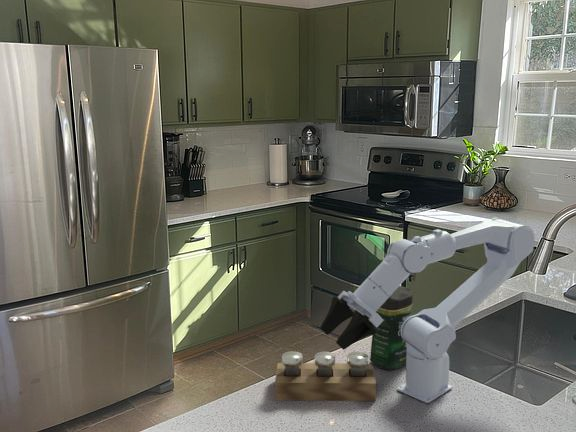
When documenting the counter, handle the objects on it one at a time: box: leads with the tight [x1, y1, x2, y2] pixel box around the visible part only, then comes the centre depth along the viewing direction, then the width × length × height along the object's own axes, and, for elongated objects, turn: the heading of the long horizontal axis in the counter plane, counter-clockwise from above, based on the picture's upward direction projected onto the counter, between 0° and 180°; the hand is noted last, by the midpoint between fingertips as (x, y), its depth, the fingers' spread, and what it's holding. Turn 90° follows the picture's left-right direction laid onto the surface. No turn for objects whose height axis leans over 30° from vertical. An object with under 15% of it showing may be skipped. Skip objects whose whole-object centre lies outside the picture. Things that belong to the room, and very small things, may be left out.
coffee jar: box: [369, 285, 414, 371], centre depth 132 cm, size 10×8×19 cm
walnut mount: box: [274, 362, 377, 402], centre depth 121 cm, size 21×9×4 cm, turn 87°
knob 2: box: [346, 351, 369, 377], centre depth 120 cm, size 4×4×6 cm
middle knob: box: [314, 351, 336, 377], centre depth 121 cm, size 4×4×6 cm
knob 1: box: [281, 350, 304, 377], centre depth 121 cm, size 4×4×6 cm
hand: (331, 338), depth 110 cm, fingers open, 7 cm apart
